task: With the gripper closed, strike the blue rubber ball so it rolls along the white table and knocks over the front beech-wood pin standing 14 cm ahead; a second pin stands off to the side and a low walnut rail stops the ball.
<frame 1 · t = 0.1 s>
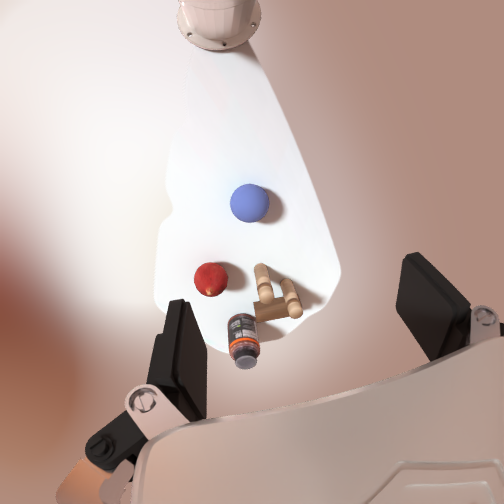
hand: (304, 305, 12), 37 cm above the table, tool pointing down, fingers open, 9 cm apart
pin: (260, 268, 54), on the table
onion: (211, 267, 53), on the table
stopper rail: (276, 301, 58), on the table
supplement bottle: (241, 322, 60), on the table
ball: (249, 203, 44), on the table
side pin: (286, 283, 56), on the table
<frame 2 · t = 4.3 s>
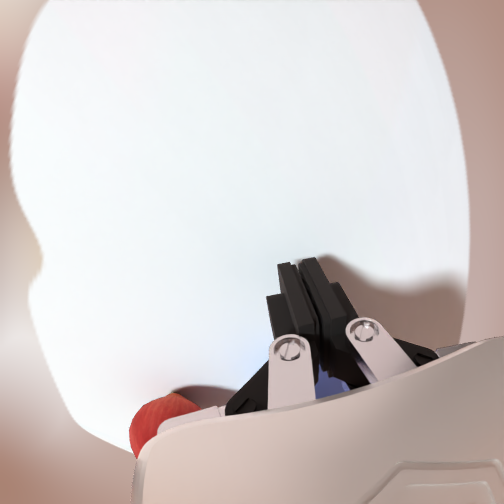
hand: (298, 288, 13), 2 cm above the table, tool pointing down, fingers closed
onion: (177, 393, 18), on the table
ball: (306, 406, 15), on the table
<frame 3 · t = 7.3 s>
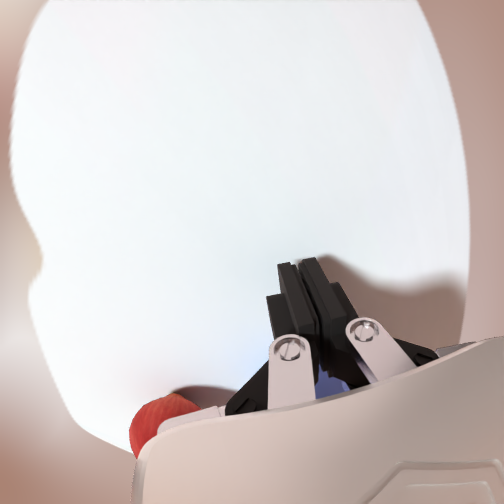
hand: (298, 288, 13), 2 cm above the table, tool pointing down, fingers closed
onion: (177, 393, 18), on the table
ball: (306, 407, 15), on the table
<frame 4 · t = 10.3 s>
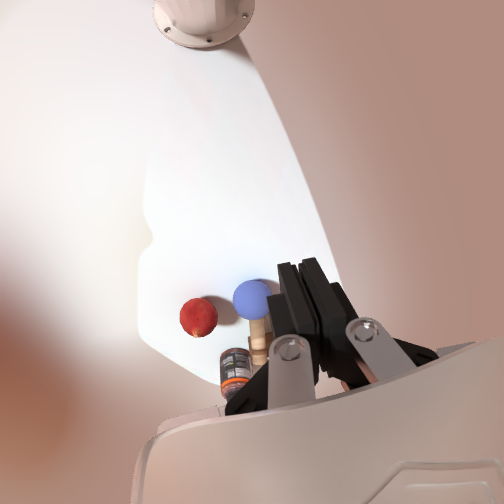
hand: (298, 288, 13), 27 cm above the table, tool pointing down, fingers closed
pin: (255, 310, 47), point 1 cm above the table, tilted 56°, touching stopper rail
onion: (199, 301, 46), on the table
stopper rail: (273, 336, 51), on the table
supplement bottle: (235, 356, 53), on the table
ball: (252, 300, 43), on the table
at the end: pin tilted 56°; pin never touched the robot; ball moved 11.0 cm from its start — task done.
